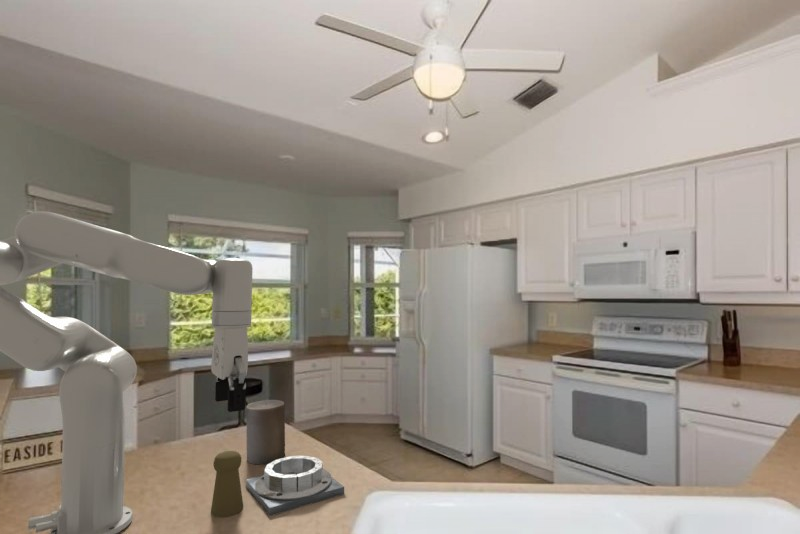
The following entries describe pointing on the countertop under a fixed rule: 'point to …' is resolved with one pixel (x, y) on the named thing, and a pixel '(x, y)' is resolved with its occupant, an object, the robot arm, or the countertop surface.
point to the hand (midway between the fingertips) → (229, 405)
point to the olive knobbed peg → (227, 485)
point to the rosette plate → (293, 484)
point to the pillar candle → (265, 431)
